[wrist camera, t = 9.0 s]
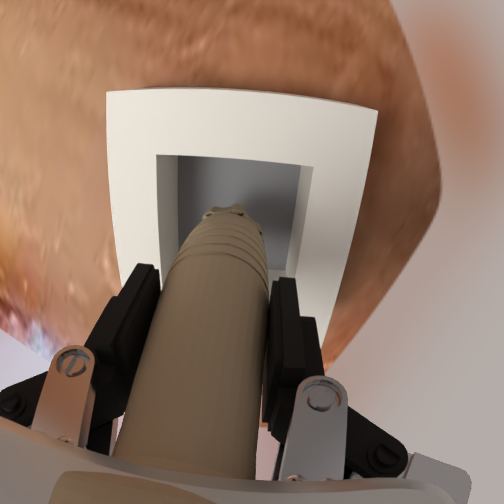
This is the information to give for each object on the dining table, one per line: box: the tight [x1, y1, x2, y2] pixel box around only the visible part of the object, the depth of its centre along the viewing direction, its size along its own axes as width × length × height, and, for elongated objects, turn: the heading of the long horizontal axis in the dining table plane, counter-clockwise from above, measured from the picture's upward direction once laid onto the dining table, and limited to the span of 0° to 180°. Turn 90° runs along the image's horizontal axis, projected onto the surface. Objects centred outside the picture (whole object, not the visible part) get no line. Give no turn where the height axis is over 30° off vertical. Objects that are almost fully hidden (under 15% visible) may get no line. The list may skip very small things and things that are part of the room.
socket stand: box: [106, 87, 378, 349], centre depth 18 cm, size 14×12×5 cm
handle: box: [48, 204, 269, 504], centre depth 10 cm, size 5×6×15 cm
